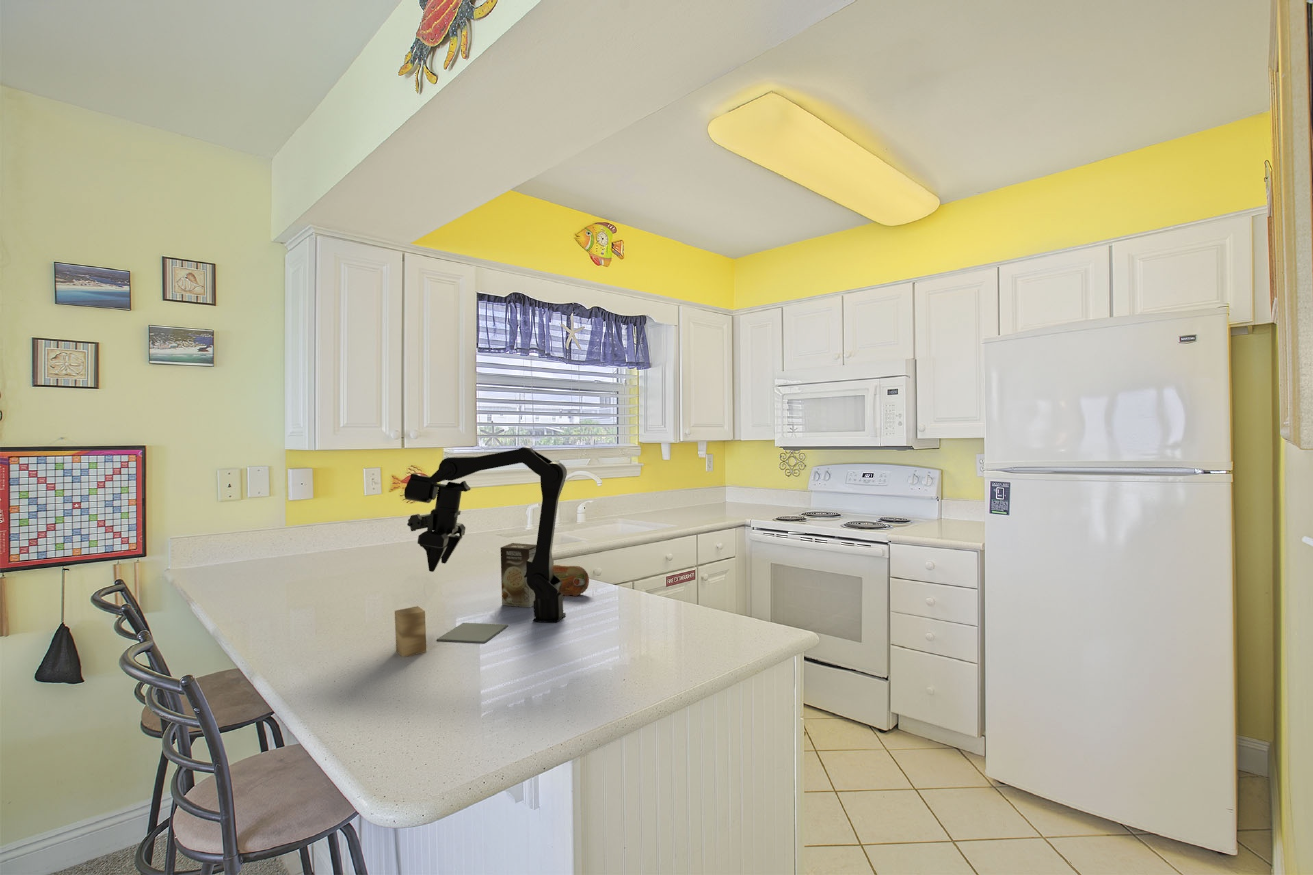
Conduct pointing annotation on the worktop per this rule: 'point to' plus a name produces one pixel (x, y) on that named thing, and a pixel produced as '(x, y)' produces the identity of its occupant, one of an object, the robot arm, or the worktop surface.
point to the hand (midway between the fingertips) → (437, 567)
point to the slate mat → (472, 632)
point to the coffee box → (516, 575)
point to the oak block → (410, 631)
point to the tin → (571, 579)
